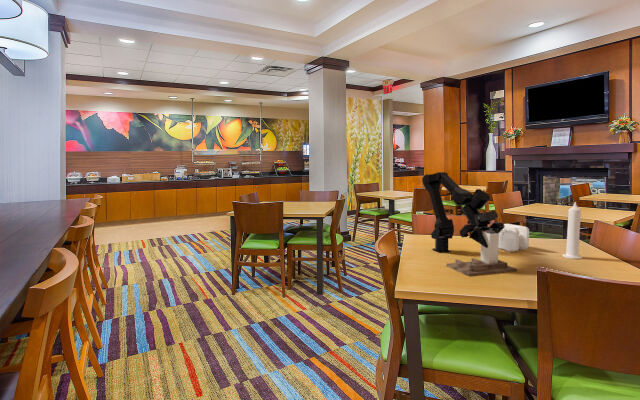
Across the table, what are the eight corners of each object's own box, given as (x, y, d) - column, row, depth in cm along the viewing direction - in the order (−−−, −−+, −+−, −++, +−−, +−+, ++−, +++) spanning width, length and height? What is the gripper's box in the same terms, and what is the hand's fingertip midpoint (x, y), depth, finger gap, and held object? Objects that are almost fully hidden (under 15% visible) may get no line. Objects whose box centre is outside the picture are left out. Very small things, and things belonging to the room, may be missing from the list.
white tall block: (480, 261, 150) (481, 230, 148) (489, 260, 151) (490, 229, 150) (488, 264, 145) (489, 231, 144) (497, 263, 147) (499, 231, 145)
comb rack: (446, 266, 151) (446, 259, 151) (491, 262, 157) (491, 255, 157) (468, 275, 138) (468, 268, 138) (516, 271, 143) (517, 263, 143)
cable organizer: (530, 251, 176) (531, 227, 175) (515, 253, 171) (516, 229, 170) (503, 245, 189) (504, 223, 188) (488, 247, 185) (489, 224, 184)
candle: (579, 256, 166) (583, 201, 163) (583, 259, 159) (586, 203, 157) (561, 254, 169) (564, 200, 166) (564, 258, 162) (567, 202, 160)
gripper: (465, 205, 147) (484, 237, 137) (502, 203, 152) (522, 234, 143) (451, 221, 155) (468, 252, 146) (487, 219, 161) (506, 249, 151)
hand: (492, 246), depth 146 cm, fingers closed on white tall block, 4 cm apart
